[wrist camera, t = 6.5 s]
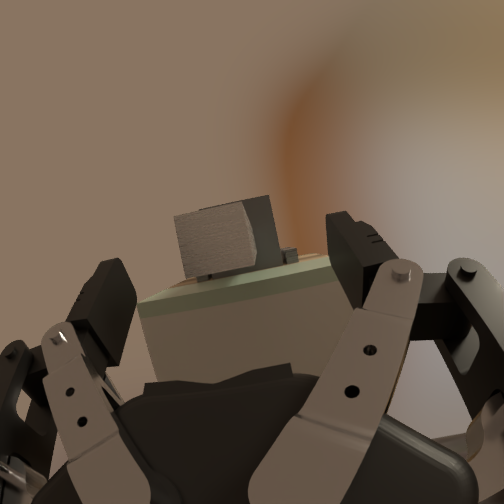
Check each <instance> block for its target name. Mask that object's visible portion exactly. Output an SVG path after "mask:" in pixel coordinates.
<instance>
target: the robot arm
mask: <svg viewBox="0 0 504 504" xmlns="http://www.w3.org/2000/svg"><path fill="white" fill-rule="evenodd" d="M326 231H327V245H328V255H329V260H330V263H331V266H332V268H333V270H334V272H335V274H336V276H337V278H338V280H339V282H340V284H341V286H342V288H343V290H344V292H345V294H346V296H347V298H348V300H349V302H350V304H351V306H352V308H353V310H354V312H353V313H352V316H351V318H350V320H349V322H348V324H347V326H346V328H345V330H344V332H343V334H342V336H341V338H340V340H339V342H338V344H337V346H336V348H335V350H334V352H333V354H332V355H331V357H330V359H329V361H328V363H327V365H326V367H325V369H324V370H323V372H322V374H321V376H320V377H319V376H315V375H310V374H302V373H293V372H292V368H291V363H285V364H280V365H275V366H270V367H264V368H259V369H253V370H250V371H248V372H245V373H243V374H240V375H237V376H235V377H232V378H229V379H226V380H224V381H221V382H218V383H213V384H209V383H199V382H189V381H180V380H174V381H164V382H153V383H145V386H144V392H143V395H140V396H137V397H135V398H133V399H131V400H129V401H127V402H126V403H125V402H124V401H123V399H122V397H121V396H120V394H119V393H118V391H117V389H116V388H115V386H114V384H113V382H112V381H111V379H110V377H109V376H108V374H107V373H106V372H105V371H106V368H107V367H114V366H119V364H120V360H121V356H122V353H123V349H124V345H125V342H126V338H127V334H128V331H129V328H130V324H131V321H132V317H133V314H134V311H135V308H136V304H137V296H136V291H135V289H134V286H133V284H132V282H131V280H130V278H129V276H128V274H127V272H126V269H125V267H124V265H123V263H122V261H121V260H120V259H119V258H114V259H110V260H106V261H102V262H100V264H99V265H98V267H97V269H96V271H95V273H94V275H93V276H92V277H91V278H90V279H89V280H88V281H87V282H86V283H85V284H84V286H83V288H82V290H81V291H80V294H79V295H78V297H77V299H76V302H75V303H74V305H73V307H72V309H71V311H70V313H69V315H68V317H67V319H66V321H65V322H61V323H58V324H56V325H54V326H53V327H51V328H50V329H49V330H48V331H47V332H46V333H45V335H44V336H43V338H42V341H41V345H40V346H37V347H35V348H32V349H29V348H28V347H27V345H26V344H25V343H24V342H23V341H22V340H16V341H13V342H11V343H10V344H9V345H7V346H6V347H5V349H4V350H3V351H2V353H1V355H0V504H478V503H479V502H481V501H483V500H485V499H487V498H489V497H490V496H492V495H494V494H496V493H497V492H499V491H501V490H502V489H504V289H503V288H502V286H501V285H500V284H499V283H498V282H497V281H496V279H494V277H493V276H492V275H491V274H490V273H489V271H488V270H487V269H486V268H485V267H484V266H483V265H482V264H480V263H479V262H477V261H475V260H472V259H469V258H457V259H454V260H452V261H451V262H450V263H449V264H448V268H447V273H423V270H422V269H421V267H420V266H419V265H418V264H416V263H414V262H412V261H409V260H406V259H399V258H398V256H397V255H396V254H395V253H394V252H393V250H392V249H391V248H390V247H389V246H388V244H387V243H386V242H385V241H383V238H382V237H381V236H380V235H378V233H377V231H376V230H375V229H374V228H373V227H372V226H371V225H369V224H366V223H364V222H363V221H359V222H355V221H354V220H353V219H352V218H351V216H350V215H349V214H348V213H347V212H346V211H342V212H336V213H331V214H327V215H326ZM414 340H415V341H417V340H434V342H435V344H436V345H437V347H438V349H439V351H440V353H441V355H442V357H443V359H444V361H445V363H446V365H447V367H448V369H449V371H450V373H451V375H452V377H453V379H454V381H455V383H456V385H457V387H458V389H459V391H460V394H461V396H462V398H463V400H464V402H465V405H466V407H467V409H468V412H469V414H470V416H471V418H472V422H471V423H470V425H469V427H468V429H467V432H466V443H467V448H468V454H467V459H466V460H465V459H464V458H463V457H462V456H460V455H459V454H457V453H456V452H454V451H452V450H450V449H448V448H446V447H444V446H443V445H441V444H439V443H437V442H435V441H433V440H431V439H430V438H428V437H426V436H424V435H422V434H421V433H419V432H417V431H415V430H413V429H412V428H410V427H408V426H406V425H405V424H403V423H401V422H399V421H398V420H396V419H394V418H392V417H391V416H389V415H387V412H388V409H389V406H390V404H391V401H392V398H393V395H394V392H395V389H396V386H397V383H398V379H399V377H400V374H401V371H402V367H403V364H404V361H405V358H406V354H407V350H408V347H409V344H410V341H414ZM21 389H22V390H23V391H24V392H25V393H26V394H27V395H28V396H29V397H30V398H31V399H32V400H31V403H30V406H29V410H28V413H27V417H26V420H25V422H24V421H23V420H22V419H21V418H20V417H19V416H18V414H17V411H16V403H17V400H18V397H19V394H20V391H21ZM57 431H58V432H59V435H60V438H61V440H62V443H63V445H64V448H65V451H66V453H67V456H68V461H67V462H66V463H65V464H64V465H63V466H62V467H61V468H60V469H59V470H58V471H57V472H56V473H55V474H54V475H53V476H52V477H51V479H49V473H50V467H51V461H52V456H53V450H54V445H55V441H56V436H57ZM48 479H49V480H48Z"/></svg>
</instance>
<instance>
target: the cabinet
mask: <svg viewBox="0 0 504 504" xmlns="http://www.w3.org/2000/svg"><path fill="white" fill-rule="evenodd" d="M280 252H281V257H282V262H283V266H278V267H273V268H268V269H263V270H258V271H253V272H249V273H244V274H239V275H234V276H228V277H223V278H218V279H213V278H212V274H208V275H202V276H197V277H192V278H188V279H186V280H185V281H182V282H180V283H178V284H176V285H174V286H172V287H170V288H168V289H165V290H163V291H161V292H159V293H157V294H156V295H153V296H151V297H149V298H147V299H145V300H143V301H141V302H138V303H137V304H136V305H137V308H138V313H139V317H140V320H141V325H142V329H143V332H144V336H145V340H146V343H147V347H148V351H149V354H150V357H151V361H152V364H153V367H154V371H155V374H156V377H157V380H158V382H164V381H174V380H180V381H189V382H199V383H209V384H213V383H218V382H221V381H224V380H226V379H229V378H232V377H235V376H237V375H240V374H243V373H245V372H248V371H250V370H253V369H259V368H264V367H270V366H275V365H280V364H285V363H291V368H292V372H293V373H302V374H310V375H315V376H319V377H320V376H321V374H322V372H323V370H324V369H325V367H326V365H327V363H328V361H329V359H330V357H331V355H332V354H333V352H334V350H335V348H336V346H337V344H338V342H339V340H340V338H341V336H342V334H343V332H344V330H345V328H346V326H347V324H348V322H349V320H350V318H351V316H352V313H353V312H354V310H353V308H352V306H351V304H350V302H349V300H348V298H347V296H346V294H345V292H344V290H343V288H342V286H341V284H340V282H339V280H338V278H337V276H336V274H335V272H334V270H333V268H332V266H331V263H330V260H329V256H327V255H322V254H315V253H311V254H306V255H301V256H298V254H297V249H296V248H290V247H287V248H281V249H280Z"/></svg>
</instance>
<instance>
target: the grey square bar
mask: <svg viewBox="0 0 504 504" xmlns="http://www.w3.org/2000/svg"><path fill="white" fill-rule="evenodd" d="M174 221H175V227H176V233H177V238H178V243H179V248H180V253H181V258H182V263H183V268H184V272H185V277H186V279H187V278H192V277H197V276H202V275H208V274H212V278H213V279H218V278H223V277H228V276H234V275H239V274H244V273H249V272H253V271H258V270H263V269H268V268H273V267H278V266H283V262H282V257H281V252H280V247H279V242H278V237H277V232H276V227H275V222H274V218H273V213H272V208H271V204H270V199H269V195H265V196H260V197H255V198H251V199H245V200H241V201H236V202H231V203H226V204H222V205H217V206H213V207H208V208H204V209H200V210H199V211H195V212H191V213H187V214H182V215H178V216H174Z"/></svg>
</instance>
